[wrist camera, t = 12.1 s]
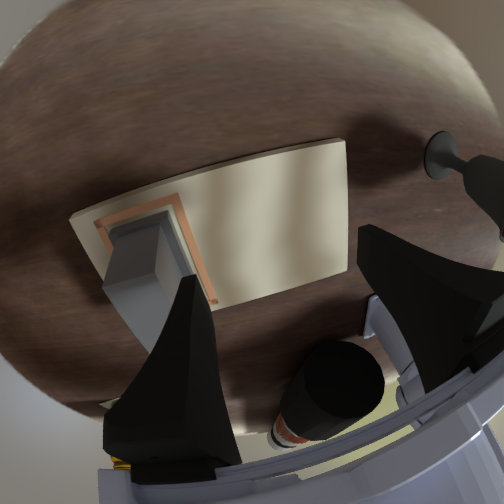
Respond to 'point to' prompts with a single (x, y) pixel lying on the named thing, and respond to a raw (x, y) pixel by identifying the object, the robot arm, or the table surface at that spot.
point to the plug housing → (143, 282)
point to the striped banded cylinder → (327, 395)
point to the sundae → (470, 175)
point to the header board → (239, 221)
